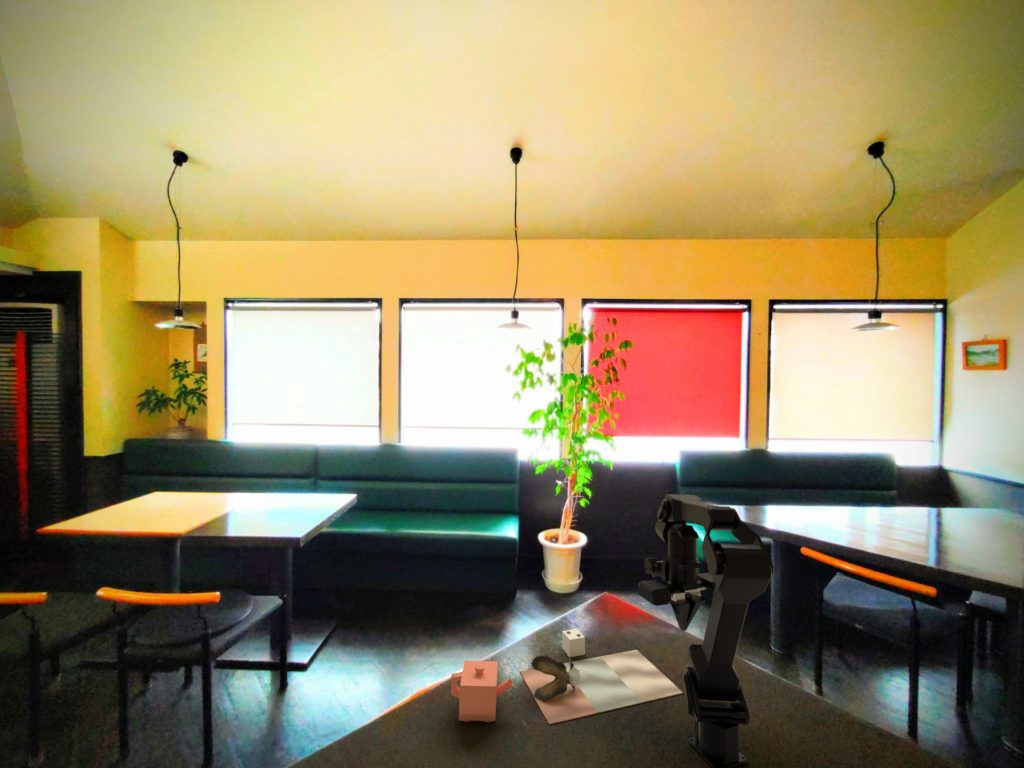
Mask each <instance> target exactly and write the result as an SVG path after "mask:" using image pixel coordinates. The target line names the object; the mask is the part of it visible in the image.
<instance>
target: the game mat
mask: <svg viewBox="0 0 1024 768" xmlns="http://www.w3.org/2000/svg"><path fill="white" fill-rule="evenodd" d="M571 662H572V663H573V664H574V667H575V668H576V669H577V670H579V673H580V681H579V682H578V684H577V685H576V686H575V689H573V688H572V686H571V685H570V684H567V690H566V692H565V693H563V694H559V695H557V696H555V697H554V698H552V699H551V700H548V701H543V700H540V699H537V697H534V696H535V695H534V693H535V691H536V689H537V688H539V687H542V686H544V685H546V684H548V683H550V682H552V680H553V679H554V678H555V676H552V675H548V674H544V673H542V672H540V671H538V670H535V669H534V668H532V669H531V668H530V669H526V670H521V671H519V673H520V675H521V677H522V678H523V680H524V681H525V682H524V683H525V684H526V685H527V687H528V689H529V691H530V694H532V697H533V698H534V700H535V702H536V704H537V706H538V707H539V709H540V710H541V713H542V715H543V717H544V718H545V721H546V722H547V724H548V725H550V726H551V725H554V724H558V723H564V722H567V721H572V720H575V719H580V718H584V717H589V716H592V715H596V714H601V713H605V712H610V711H614V710H618V709H623V708H626V707H627V708H628V707H632V706H635V705H639V704H643V703H648V702H653V701H657V700H661V699H665V698H671V697H674V696H678V695H683V694H684V692H683V691H682V690H681V689H680V688H679V687H678V686H677V685H675V683H674V682H673V681H672V680H670V679H669V678H668V677H667V676H666V675H665V674H664V673H663V672H662V671H660V670H659V668H657V667H656V665H654V664H653V663H652V662H651V661H649V660H648V659H647V657H645V656H644V654H642V653H641V652H640V651H639V650H638V649H633V650H628V651H627V650H626V651H622V652H616V653H612V654H606V655H601V656H596V657H595V656H594V657H591V658H590V657H589V658H586V659H579V660H575V661H571ZM562 663H563V662H562ZM563 664H564V665H565V666H566V668H567V669H566V672H569V669H570V664H569V661H568V662H564V663H563Z"/></svg>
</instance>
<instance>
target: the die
mask: <svg viewBox="0 0 1024 768" xmlns="http://www.w3.org/2000/svg"><path fill="white" fill-rule="evenodd" d="M561 640H562V641H561V642H562V643H561V649H562V650H563V651H564V652H565V654H566V653H567V654H566V655H567V656H568V658H569V657H570V656H571V658H575V657H579V656H584V655H586V637H585V636H584V634H582V632H581V631H580V630H579V629H578V628H574V629H568V630H562V639H561Z"/></svg>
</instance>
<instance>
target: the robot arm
mask: <svg viewBox="0 0 1024 768" xmlns="http://www.w3.org/2000/svg"><path fill="white" fill-rule="evenodd" d="M656 516H657V517H656V518H657V520H656V523H655V526H654V529H655V532H656V534H657V535H658V537H659V538H661V540H662V541H663V542H664V543H666V544H667V550H668V551H667V554H666V555H664V556H663V558H662V559H663V560H659V561H657V559H656V558H655V557H648V558H646V557H645V558H644V566H643V567H644V570H645V572H646V574H649V575H651V576H652V578H656V577H660V578H661V580H662V581H664V582H667V583H668V584H663V583H661V582H659V581H658V580H657V579H649V580H642V581H639V583H638V585H637V595H639V596H640V597H642V599H644V600H646V601H647V602H649V603H650V604H651V605H653V606H657V607H659V606H664V605H669V604H670V605H671V608H672V611H673V613H674V616H675V619H676V622H677V624H678V627H679V629H680V630H681V631H682V632H685V631H688V628H689V626H690V624H691V623H692V621H693V618H694V617H695V615H696V613H698V611H699V610H700V608H701V606H702V604H705V603H706V598H704V597H702V595H701V591H706V590H711V593H712V594H713V595H712V600H711V605H710V608H709V612H708V613H709V614H708V619H707V623H706V629H705V633H704V636H703V637H704V638H703V642H702V644H698V643H691V644H690V646H689V647H688V655H687V657H686V661H687V662H686V666H685V667H684V669H683V673H682V674H683V675H682V681H683V688H684V692H685V693H684V695H685V700H686V711H687V714H688V715H689V716H691V717H693V718H694V735H695V736H693V737H690V738H689V739H688V743H689V744H690V745H691V746H692V747H693V748H694V750H695V751H696V752H697V753H698V754H699V755H700V756H701V757H702V759H704V760H705V761H706V763H707V764H708V765H709V766H710V767H711V768H733V767H737V766H740V765H744V764H746V763H747V757H746V756H745V755H744V754H743V753H742V752H740V742H739V741H740V737H739V736H740V735H739V734H740V732H739V731H740V730H739V728H740V727H739V725H744V726H749V724H750V719H751V715H750V711H749V709H748V705H747V702H746V699H745V695H744V693H743V688H742V686H741V680H740V677H739V675H738V673H737V671H736V669H735V666H734V661H735V657H736V654H737V650H738V647H739V642H740V638H741V634H742V629H743V626H744V623H745V619H746V615H747V611H748V607H749V604H750V602H752V601H753V600H755V599H757V597H759V596H761V595H762V594H764V593H765V592H766V590H767V588H768V585H769V584H770V581H771V579H772V576H773V574H774V563H773V561H772V557H771V556H770V554H769V552H768V550H767V548H766V546H765V544H764V542H763V540H762V539H761V536H760V535H759V534H758V533H756V532H755V531H754V530H753V529H752V528H750V527H749V526H748V525H747V524H746V523H745V522H744V521H742V520H741V517H740V515H739V514H738V511H737V510H736V508H733V507H731V506H727V505H725V506H724V505H723V506H721V505H716V504H711V503H705V502H703V500H702V498H701V497H699V496H698V495H695V494H676V493H675V494H671V493H670V494H669V493H668V494H666V495H665V496H664V499H662V500H661V504H660V506H659V508H658V511H657V512H656ZM690 524H691V525H690ZM692 524H695V525H698V526H701V527H703V529H704V532H705V535H704V537H703V540H702V544H701V551H702V554H703V557H704V559H705V562H706V564H707V570H708V572H705V573H704V572H703V573H698V569H701V568H702V562H701V561H699V560H698V547H697V546H698V544H697V543H698V541H697V540H698V539H699V533H698V532H697V530H695V529H694V526H693V525H692ZM711 531H721V532H722V531H726V532H731V534H732V536H733V537H735V538H736V539H737V540H738V541H739V542H740V543H734V542H733V543H732V542H731V543H730V542H729V543H728V542H716V543H714V542H713V540H712V537H711Z"/></svg>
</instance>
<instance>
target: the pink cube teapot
mask: <svg viewBox="0 0 1024 768" xmlns="http://www.w3.org/2000/svg"><path fill="white" fill-rule="evenodd" d="M498 667H499V666H498V661H497V660H495V661H494V660H464V662H463V667H462V668H463V669H462V671H461V672H460V671H459V672H454V673H451V676H450V695H451V696H452V697H455V698H456V699H458V700H459V702H458V703H459V704H458V721H462V722H465V723H466V722H467V723H468V722H471V721H472V722H484V723H485V722H486V723H491V722H496V716H497V715H496V714H497V698H498V697H500V696H501V695H503V694H505V693H506V692H507V691H509V690H510V689H512V688H513V687H514V682H513V680H512V678H511V677H508V678H507V679H506V680H504V681H503V682H502V683H500V684H499V685H498ZM458 681H460V683H459V686H458Z"/></svg>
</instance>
